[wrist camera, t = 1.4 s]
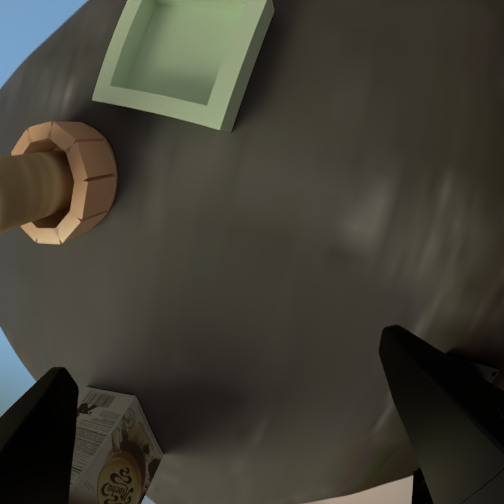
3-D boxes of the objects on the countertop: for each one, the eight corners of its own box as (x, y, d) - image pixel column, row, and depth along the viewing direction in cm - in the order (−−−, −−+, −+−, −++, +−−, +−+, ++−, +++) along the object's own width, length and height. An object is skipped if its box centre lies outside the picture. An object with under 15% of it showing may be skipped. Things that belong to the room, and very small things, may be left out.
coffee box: (166, 455, 27) (110, 579, 12) (115, 444, 28) (52, 551, 13) (138, 393, 25) (47, 539, 9) (83, 384, 26) (-10, 500, 11)
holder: (130, 132, 18) (98, 131, 15) (107, 246, 21) (77, 262, 17) (50, 115, 18) (17, 114, 15) (35, 214, 21) (4, 225, 18)
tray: (274, 11, 14) (270, -8, 12) (231, 132, 17) (219, 129, 15) (155, -5, 15) (137, -21, 12) (114, 103, 17) (91, 100, 15)
